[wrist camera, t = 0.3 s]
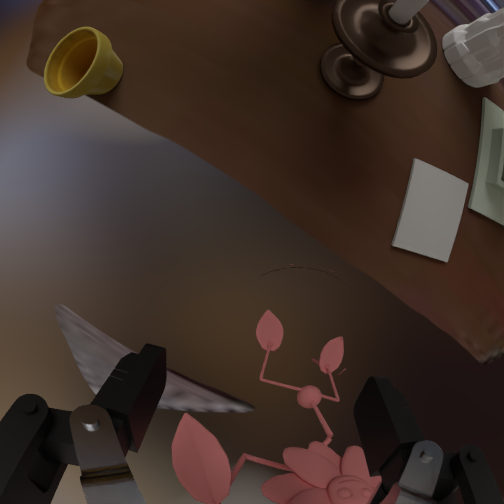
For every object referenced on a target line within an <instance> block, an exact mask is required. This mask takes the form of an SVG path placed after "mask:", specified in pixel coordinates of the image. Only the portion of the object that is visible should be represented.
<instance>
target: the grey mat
mask: <svg viewBox="0 0 504 504" xmlns="http://www.w3.org/2000/svg"><path fill="white" fill-rule="evenodd" d="M467 189H468V183H466V182H464V181H462V180H460V179H458V178H456V177H454V176H453V175H450V174H448V173H446V172H444V171H442V170H440V169H438V168H436V167H434V166H432V165H430V164H427V163H425V162H423V161H421V160H418V159H416V158H414V159H413V163H412V168H411V173H410V177H409V182H408V186H407V190H406V194H405V198H404V202H403V206H402V210H401V214H400V217H399V221H398V224H397V228H396V231H395V234H394V238H393V241H392V244H391V245H392V246H395V247H399V248H402V249H406V250H409V251H412V252H415V253H419V254H422V255H425V256H429V257H432V258H435V259H438V260H441V261H444V262H447V261H448V258H449V256H450V252H451V249H452V246H453V243H454V240H455V236H456V233H457V230H458V226H459V222H460V219H461V215H462V211H463V207H464V203H465V198H466V194H467Z"/></svg>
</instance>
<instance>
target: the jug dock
mask: <svg viewBox="0 0 504 504" xmlns="http://www.w3.org/2000/svg"><path fill="white" fill-rule="evenodd" d="M503 163H504V111H503V110H502V109H500V108H499V107H498V106H496V105H495V104H494V103H493V102H491V101H490V100H489V99H487V98H486V97H484V98H483V99H482V119H481V132H480V141H479V149H478V157H477V163H476V170H475V175H474V181H473V186H472V191H471V196H470V200H469V204H468V208H470V209H472V210H474V211H476V212H478V213H480V214H482V215H484V216H486V217H488V218H490V219H492V220H494V221H495V222H497V223H499V224H501V225H503V226H504V182H503V181H502V180H501V177H502V171H503Z"/></svg>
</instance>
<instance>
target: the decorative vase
mask: <svg viewBox="0 0 504 504" xmlns="http://www.w3.org/2000/svg"><path fill="white" fill-rule="evenodd" d="M442 47H443V50H444V55H445V57H446V59H447V62H448V64H450V67H451V68H452V70H453V71H454V72H455V74H456V75H457V76H458V77H459V78H460V79H462V81H463V82H464V83H466V84H467V85H469V86H472V87H475V88H479V87H483V86H487V85H490V84H493V83H497V82H498V81H499V80H500V79H501V78H504V8H502V9H500V10H498V11H496V12H495V13H493V14H490V13H487V14H485V15H483V16H482V17H480V18H478V19H477V20H475V21H473V22H472V23H470V24H468V25H467V24H465V25H459V26H457V27H456V28H454V29H453V30H451V31H450V32H448V33H447V34H445V35H444V37H443V39H442Z"/></svg>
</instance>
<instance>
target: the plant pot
mask: <svg viewBox="0 0 504 504" xmlns="http://www.w3.org/2000/svg"><path fill="white" fill-rule="evenodd" d="M122 73H123V64H122V61H121V60H120V59H119V58H118V56H117V55H116V54H115V53H114V51H113V50H112V47H111V43H110V41H109V39H108V38H107V37H106V36H105V35H104V34H102V33H101V32H99V31H98V30H96V29H94V28H92V27H82V28H78V29H76V30H74V31H72V32H70V33H69V34H67V35H66V36H65V37H64V38H63V39H62V40H61V41H60V42H59V43H58V44H57V45H56V47H55V48H54V49H53V51H52V53H51V54H50V56H49V58H48V61H47V63H46V67H45V71H44V83H45V86H46V89H47V90H48V91H49V92H50V93H51V94H53V95H56V96H60V97H64V98H77V97H80V96H82V95H89V94H104V93H107V92H109V91H110V90H112V89H113V88H114V87H115V86H116V85H117V84H118V82H119V81H120V79H121V76H122Z"/></svg>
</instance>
